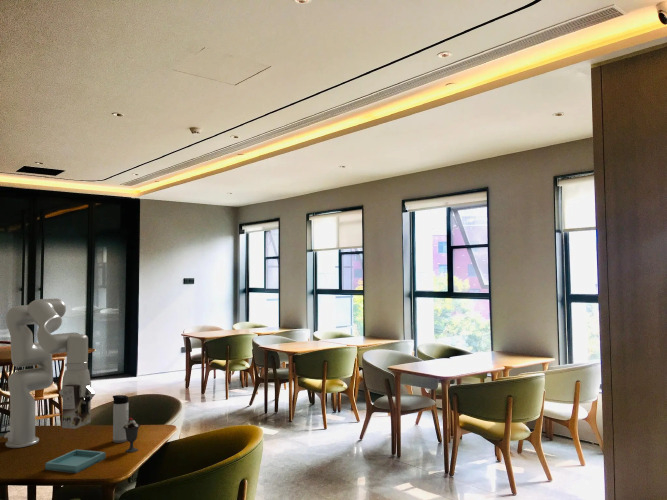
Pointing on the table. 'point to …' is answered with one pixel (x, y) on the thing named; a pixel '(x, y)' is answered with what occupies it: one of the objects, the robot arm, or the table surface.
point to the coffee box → (73, 408)
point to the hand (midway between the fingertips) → (76, 412)
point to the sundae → (131, 433)
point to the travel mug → (120, 418)
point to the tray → (75, 461)
